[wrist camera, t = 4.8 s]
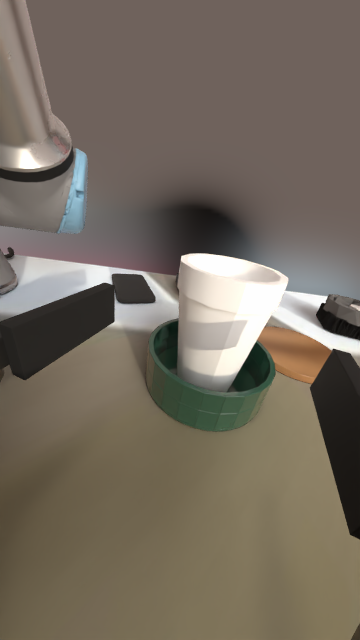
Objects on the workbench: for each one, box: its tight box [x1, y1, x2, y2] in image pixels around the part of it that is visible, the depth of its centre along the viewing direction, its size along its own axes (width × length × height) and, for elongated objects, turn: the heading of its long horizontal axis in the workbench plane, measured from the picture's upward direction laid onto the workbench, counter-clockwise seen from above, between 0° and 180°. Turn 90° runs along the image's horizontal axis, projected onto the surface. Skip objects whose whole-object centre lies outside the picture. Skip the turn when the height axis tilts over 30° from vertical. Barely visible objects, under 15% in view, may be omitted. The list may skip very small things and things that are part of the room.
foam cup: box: [177, 254, 288, 392], centre depth 22 cm, size 10×9×13 cm
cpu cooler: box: [316, 295, 360, 340], centre depth 43 cm, size 10×6×10 cm
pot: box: [146, 318, 276, 431], centre depth 24 cm, size 13×13×4 cm
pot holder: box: [257, 327, 332, 384], centre depth 32 cm, size 13×13×1 cm
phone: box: [112, 274, 155, 303], centre depth 46 cm, size 7×1×15 cm
